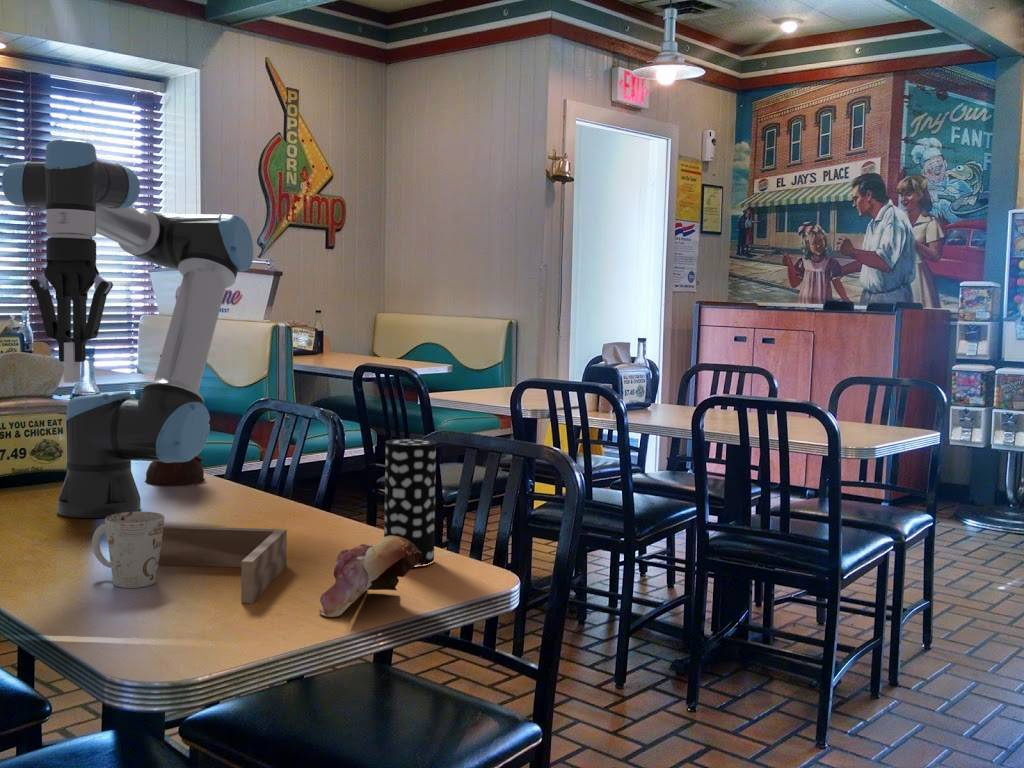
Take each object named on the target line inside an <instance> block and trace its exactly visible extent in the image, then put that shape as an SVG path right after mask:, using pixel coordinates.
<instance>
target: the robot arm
mask: <svg viewBox="0 0 1024 768" xmlns="http://www.w3.org/2000/svg"><path fill="white" fill-rule="evenodd" d="M96 151H97V150H96V148H95V146H94V144H92V143H90V142H87V141H84V140H77V139H53V140H50V141H48V142H47V144H46V147H45V161H30V160H28V161H23V162H22V161H21V162H13V163H10V164H8V166H6V167H5V169H4V170H3V172H2V180H1V187H2V193H3V194H4V197H5V198H6V200H8V201H9V202H10V203H11V204H12V205H15V206H21V207H26V208H29V207H36V208H37V207H38V208H40V209H43V210H45V214H46V215H45V231H46V232H45V233H46V234H47V235H49V237H47V239H46V240H45V249H46V250H45V251H46V252H45V256H46V259H45V260H46V266H45V267H44V270H43V274H42V275H40V276H39V277H38V278H36V279H35V278H34V279H30V280H29V285H30V286H31V288H32V290H33V292H34V293H35V294H36V299H37V302H38V306H39V310H40V314H41V318H42V323H43V327H44V330H45V336H46V337H47V338H49V339H53V340H56V342H57V343H58V360H59V362H63V371H64V372H63V380H64V381H63V382H64V383H65V384H66V383H67V384H68V383H70V384H74V383H79V382H81V363H82V362H83V363H84V362H85V361H86V357H87V355H86V351H87V350H86V344H87V342H88V341H90V340H93V339H96V338H98V335H99V332H100V331H99V330H100V326H101V322H102V318H103V313H104V311H105V304H106V301H107V296H108V295H109V293H110V292H111V290H112V289H113V286H114V284H113V282H112V281H108V280H106V279H105V278H103V277H102V276H100V273H99V270H98V268H97V241H96V240H95V239H93V237H95V236H97V234H98V235H100V236H102V237H104V238H107V239H108V240H111V241H112V242H113V241H114V242H115V243H117V244H118V246H119V247H120V248H121V249H122V250H123V251H124V252H126V253H127V254H130V255H132V256H135V257H137V258H139V259H141V260H144V261H147V262H149V263H152V264H154V265H156V266H157V265H158V266H160V267H164V268H167V269H168V268H169V269H174V270H178V272H179V273H180V275H181V276H182V280H181V283H180V288H179V290H178V295H177V297H176V301H175V305H174V308H173V312H172V315H171V318H170V322H169V326H168V330H167V332H166V333H167V334H166V337H165V340H164V344H163V347H162V350H161V354H160V355H161V357H160V356H159V357H160V358H159V360H158V361H159V362H158V365H157V368H156V372H155V375H154V379H153V380H151V382H148V383H147V384H145V385H144V386H143V388H142V391H141V393H140V397H139V399H133V396H132V394H131V392H130V391H116V392H105V393H104V392H103V393H97V394H89V395H87V394H86V395H80V396H75V397H72V398H70V399H69V400H68V402H67V406H66V417H65V423H66V425H65V426H66V475H65V478H64V482H63V484H62V487H61V491H60V493H59V495H58V499H57V505H56V506H57V507H56V508H57V514H58V515H59V516H63V517H67V518H76V519H103V518H106V517H108V516H110V515H113V514H118V513H125V512H140V511H141V507H142V505H141V496H140V492H139V490H138V487H137V484H136V482H135V478H134V476H133V472H132V461H141V462H142V461H144V462H153V461H158V462H164V463H173V462H187V461H190V460H192V459H193V458H194V457H196V456H198V455H199V454H201V451H203V449H204V447H205V445H206V444H207V441H208V439H209V435H210V431H211V424H210V421H211V416H210V413H209V410H208V408H207V407H206V406H205V399H204V398H203V396H202V395H201V393H200V392H199V391H200V387H201V384H202V383H201V382H202V380H203V376H204V372H205V368H206V365H207V360H208V357H209V352H210V350H211V345H212V341H213V337H214V334H215V331H216V325H217V322H218V319H219V314H220V311H221V308H222V303H223V298H224V295H225V292H226V289H227V288H230V287H232V286H233V285H234V284H236V279H237V276H238V272H246V271H247V270H249V269H250V268H251V266H252V263H253V260H254V245H253V239H252V235H251V230H250V229H249V226H248V224H247V222H246V221H245V220H244V218H242V217H241V216H240V215H237V214H226V213H222V212H221V213H219V214H215V213H214V214H212V213H166V212H165V213H164V212H163V213H160V212H159V213H158V212H153V211H150V210H149V209H146V208H142V207H141V208H138V207H137V208H133V207H132V205H134V204H135V203H136V201H137V200H138V198H139V195H140V192H141V184H140V180H139V178H138V176H137V175H136V172H134V171H133V170H132V169H131V168H130V167H127V166H123V165H122V164H120V163H113V162H112V163H111V162H108V161H104V160H99V159H98V158H97V157H98V156H97V153H96ZM50 285H51V287H52V288H53V289H54V291H55V300H56V311H55V307H54V303H53V298H52V296H51V291H50V289H49V288H50ZM93 285H94V286H93ZM92 287H94V292H93V296H92V300H91V304H90V308H89V312H88V316H87V301H88V299H89V298H88V292H89V290H90V289H92Z"/></svg>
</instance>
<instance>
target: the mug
mask: <svg viewBox="0 0 1024 768" xmlns="http://www.w3.org/2000/svg"><path fill="white" fill-rule="evenodd" d="M164 526H165V515H164V514H162V513H159V512H155V511H154V512H153V511H137V512H125V513H118V514H113V515H110V516H108V517H106V518H105V519H104V523H102V524H100V525H98V527H97V528H96V529H95V530H94V533H93V536H92V539H91V548H92V553H93V554H94V556H95V558H96V559H97V560H98V562H100V564H102V566H104V567H106V568H109V569H111V576H112V582H113V585H114V586H115V587H118V588H122V589H138V588H145V587H149V586H152V585H154V584H156V583H157V579H158V571H159V566H160V565H159V557H160V550H161V542H162V535H163V527H164ZM105 533H106V540H107V546H108V554H109V560H108V559H107V558H106V557H105V556H104V555H103V553H102V550H101V547H100V541H101V538H102V536H103V535H104V534H105Z"/></svg>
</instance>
